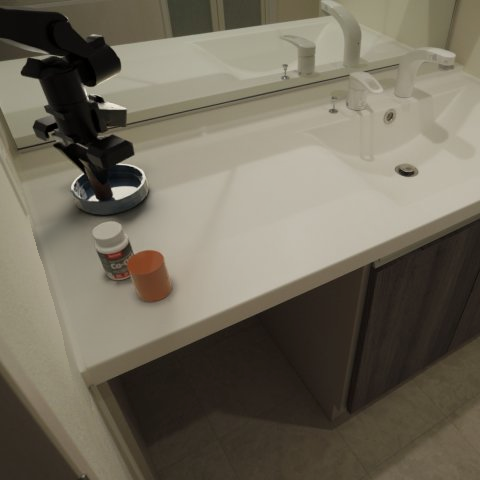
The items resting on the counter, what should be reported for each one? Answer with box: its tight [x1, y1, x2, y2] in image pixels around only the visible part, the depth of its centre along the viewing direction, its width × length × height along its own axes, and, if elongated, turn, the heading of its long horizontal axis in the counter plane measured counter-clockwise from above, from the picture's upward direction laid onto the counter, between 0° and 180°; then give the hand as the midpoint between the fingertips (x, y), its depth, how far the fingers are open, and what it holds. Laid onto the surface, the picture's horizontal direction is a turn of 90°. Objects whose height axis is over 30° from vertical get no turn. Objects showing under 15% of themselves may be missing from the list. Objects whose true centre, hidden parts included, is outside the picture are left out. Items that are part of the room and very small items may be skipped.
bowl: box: [70, 163, 150, 216], centre depth 79 cm, size 13×13×3 cm
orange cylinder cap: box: [127, 249, 173, 303], centre depth 62 cm, size 5×5×6 cm
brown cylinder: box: [84, 166, 113, 201], centre depth 76 cm, size 3×3×7 cm
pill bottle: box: [91, 221, 135, 281], centre depth 63 cm, size 5×5×8 cm
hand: (98, 180), depth 76 cm, fingers closed on brown cylinder, 3 cm apart
